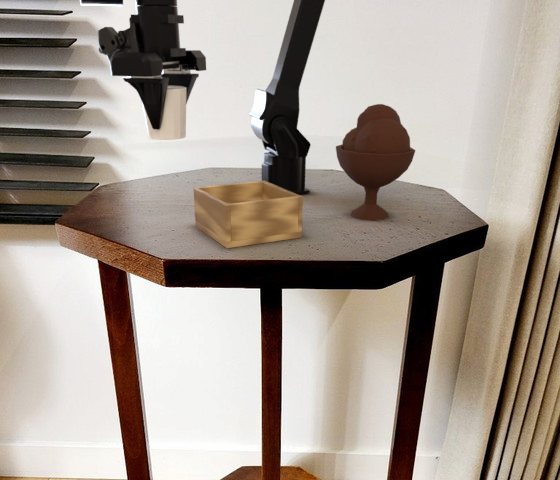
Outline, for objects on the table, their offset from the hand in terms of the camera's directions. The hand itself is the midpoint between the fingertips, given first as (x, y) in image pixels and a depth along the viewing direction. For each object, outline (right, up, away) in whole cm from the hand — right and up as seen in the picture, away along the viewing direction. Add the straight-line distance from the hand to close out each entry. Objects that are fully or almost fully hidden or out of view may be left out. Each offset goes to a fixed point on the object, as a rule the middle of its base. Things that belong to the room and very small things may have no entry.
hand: (166, 126), depth 92 cm
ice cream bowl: (+31, -14, -2) cm, 34 cm away
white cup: (0, -1, +1) cm, 2 cm away
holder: (+13, -19, -11) cm, 25 cm away
